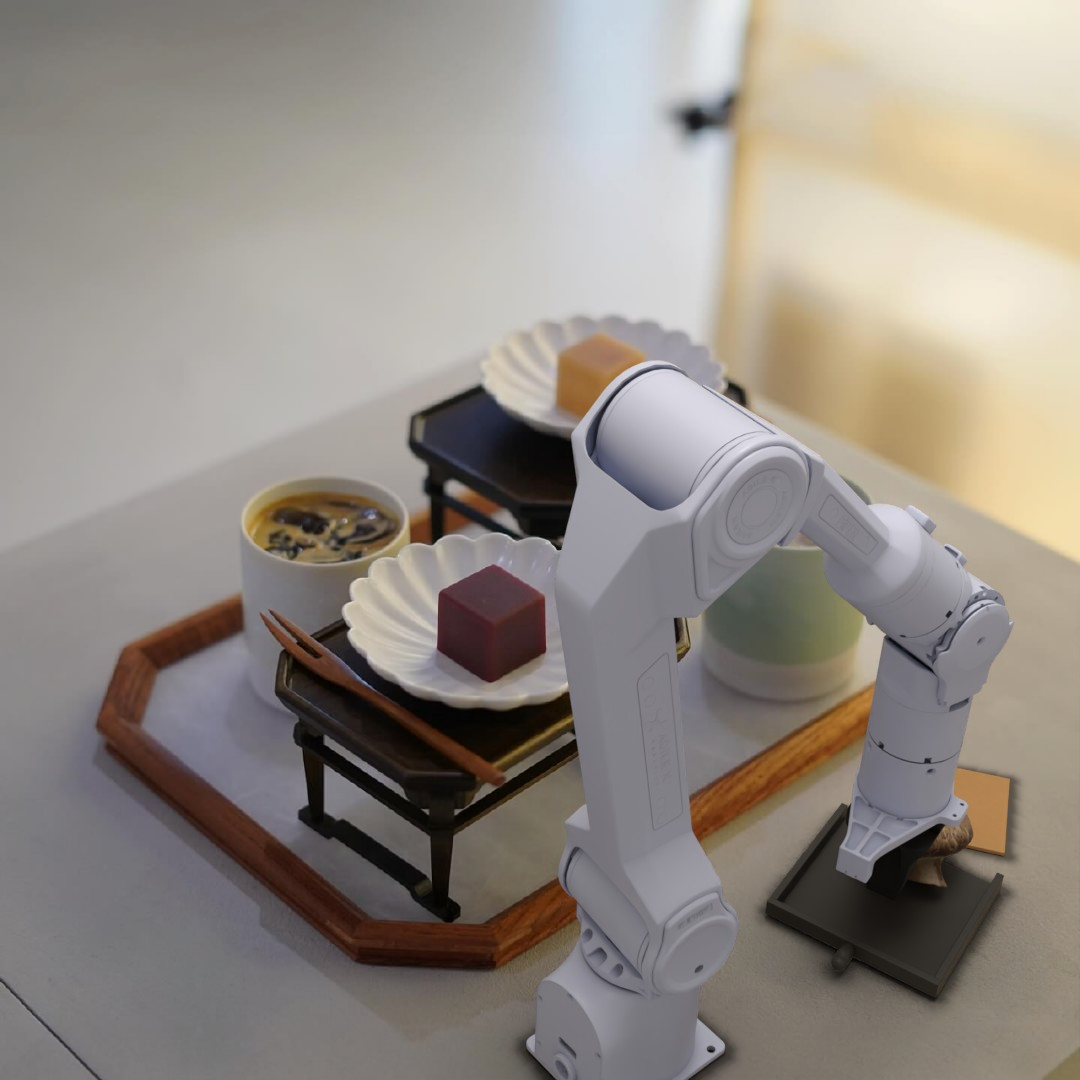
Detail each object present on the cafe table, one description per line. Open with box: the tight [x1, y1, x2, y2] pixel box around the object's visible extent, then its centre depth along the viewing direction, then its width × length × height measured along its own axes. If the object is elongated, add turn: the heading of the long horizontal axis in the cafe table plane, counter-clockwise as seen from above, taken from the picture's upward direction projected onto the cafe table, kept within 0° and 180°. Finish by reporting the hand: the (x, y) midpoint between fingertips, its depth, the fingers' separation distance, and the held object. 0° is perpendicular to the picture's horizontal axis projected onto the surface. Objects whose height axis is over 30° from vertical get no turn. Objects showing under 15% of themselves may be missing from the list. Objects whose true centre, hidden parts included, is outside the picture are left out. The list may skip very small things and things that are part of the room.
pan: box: [764, 802, 1005, 998], centre depth 101 cm, size 14×12×2 cm
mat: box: [954, 767, 1011, 857], centre depth 110 cm, size 8×8×1 cm
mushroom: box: [908, 814, 973, 887], centre depth 103 cm, size 8×8×6 cm
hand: (882, 889), depth 100 cm, fingers closed
